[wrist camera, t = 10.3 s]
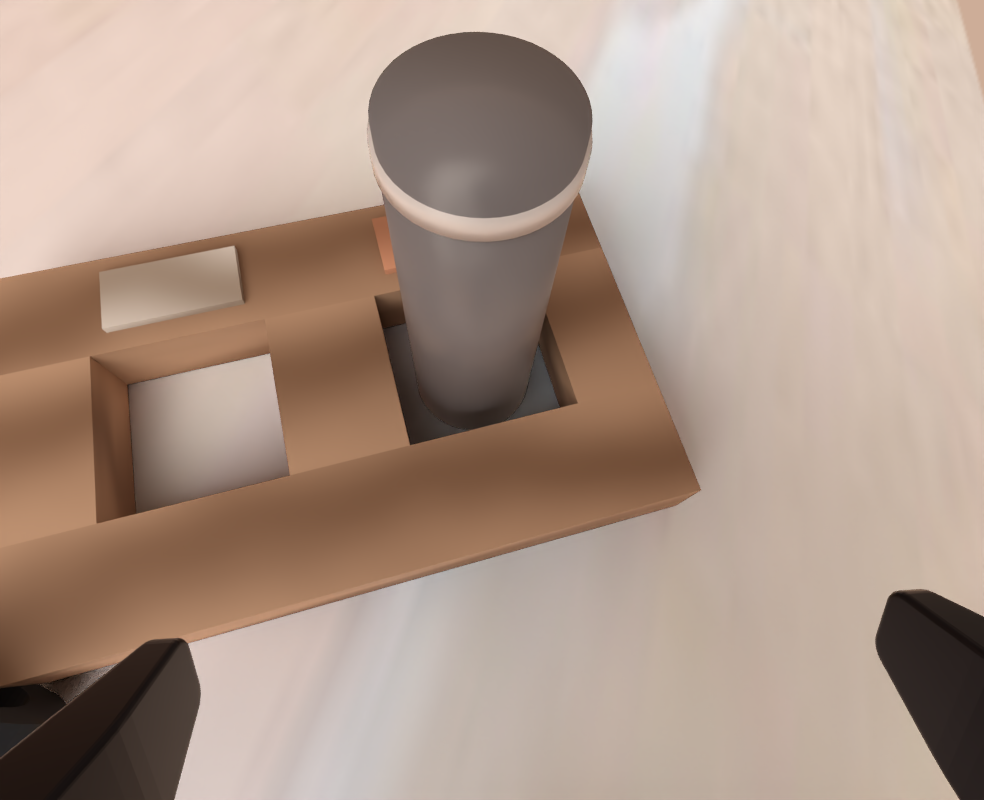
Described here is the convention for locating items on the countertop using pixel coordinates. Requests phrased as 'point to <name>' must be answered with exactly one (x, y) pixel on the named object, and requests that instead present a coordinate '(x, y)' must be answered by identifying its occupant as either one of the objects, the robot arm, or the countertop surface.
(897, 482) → the countertop surface
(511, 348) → the grey cylinder
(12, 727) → the pipe connector
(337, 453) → the socket plate
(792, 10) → the countertop surface
